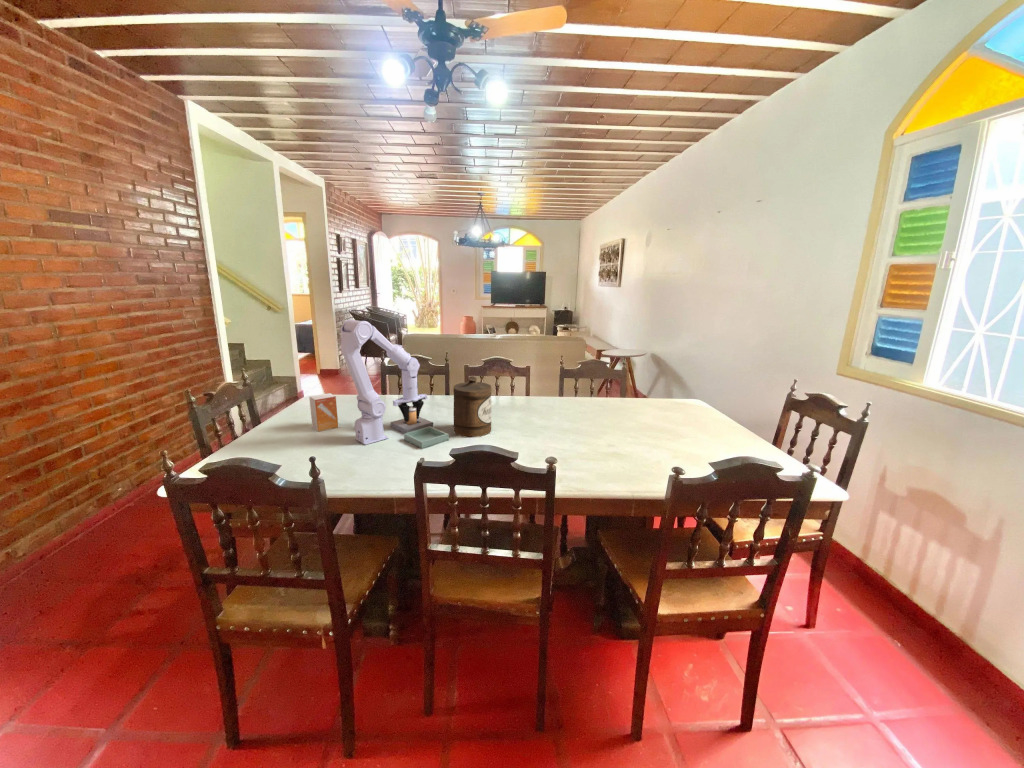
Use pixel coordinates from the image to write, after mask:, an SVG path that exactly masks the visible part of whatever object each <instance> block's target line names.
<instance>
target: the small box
mask: <svg viewBox="0 0 1024 768" xmlns="http://www.w3.org/2000/svg"><path fill="white" fill-rule="evenodd" d="M308 397H309V407H310V408H309V409H310V416H311V417H310V418H311V426H312V428H313V429H314V430H316V431H317V432H319V433H320V432H322V431H323V432H324V431H326V430H331V429H336V428H339V418H338V406H337V397H336V395H335V394H333V393H331V392H329V393H322V394H317V395H312V396H311V395H310V396H308Z"/></svg>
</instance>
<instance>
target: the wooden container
mask: <svg viewBox="0 0 1024 768" xmlns="http://www.w3.org/2000/svg"><path fill="white" fill-rule="evenodd" d="M453 432H454V433H455V435H457V436H460V437H464V438H478V437H483V436H486V435H488V434H490V433H491V432H492V385H491V384H489V383H486V382H481V381H479V382H478V381H477V377H476V376H474V375H472V376H469V377H468V378H467V381H465V382H460V383H456V384H454V386H453Z"/></svg>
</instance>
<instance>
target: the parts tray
mask: <svg viewBox="0 0 1024 768" xmlns="http://www.w3.org/2000/svg"><path fill="white" fill-rule="evenodd" d="M449 436H450V435H449V433H447V432H445V431H442V430H440V429H437V428H435V427H434V426H433V427H431V426H429V427H426V428H422V429H419V430H415V431H412V432H408V433H403V437H404V438H403V440H404V441H406V442H407V443H409V444H411V445H414V446H415V447H417V448H420V449H421V450H424V449H428V448H430V447H432V446H433V447H434V446H436V445H439V444H442V443H445V442H449V440H450V439H449V438H450V437H449Z"/></svg>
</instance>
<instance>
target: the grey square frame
mask: <svg viewBox="0 0 1024 768" xmlns="http://www.w3.org/2000/svg"><path fill="white" fill-rule="evenodd" d="M429 426H431V427H433V428H434V421H433V422H432V421H431V420H428V419H426V418H423V417H420V416H419V419H417V424H413V425H407V421H404V418H401V419H398V420H397V419H396V420H393V421H390V427H391V428H393V429H395V430H397V431H399V432H401V433H403V434H405V433H408V432H412V431H415V430H419V429H422V428H426V427H429Z"/></svg>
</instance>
